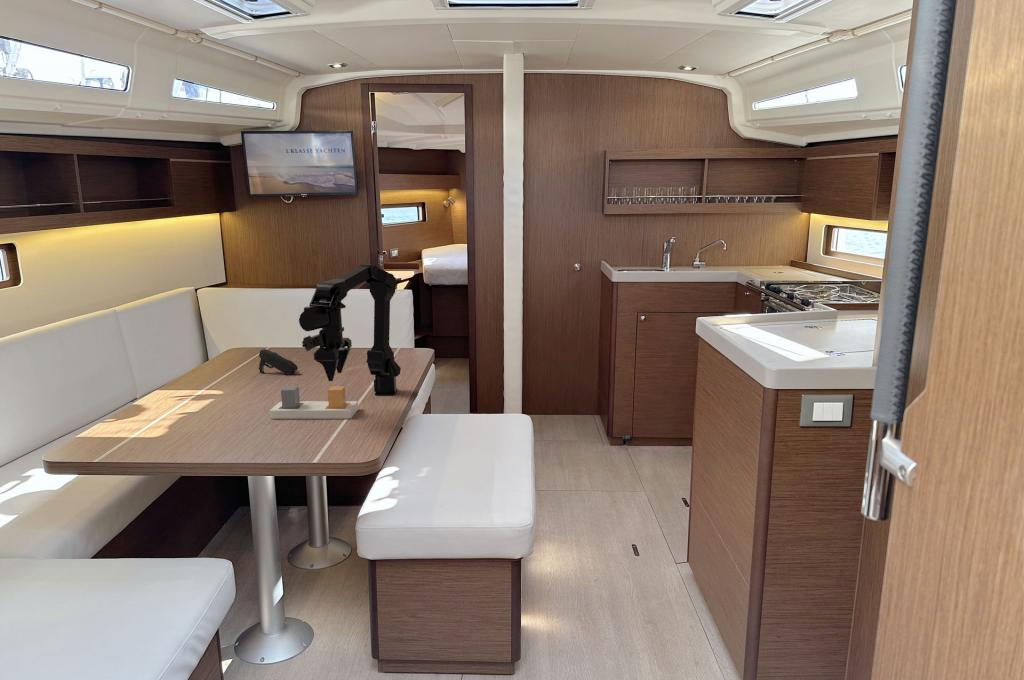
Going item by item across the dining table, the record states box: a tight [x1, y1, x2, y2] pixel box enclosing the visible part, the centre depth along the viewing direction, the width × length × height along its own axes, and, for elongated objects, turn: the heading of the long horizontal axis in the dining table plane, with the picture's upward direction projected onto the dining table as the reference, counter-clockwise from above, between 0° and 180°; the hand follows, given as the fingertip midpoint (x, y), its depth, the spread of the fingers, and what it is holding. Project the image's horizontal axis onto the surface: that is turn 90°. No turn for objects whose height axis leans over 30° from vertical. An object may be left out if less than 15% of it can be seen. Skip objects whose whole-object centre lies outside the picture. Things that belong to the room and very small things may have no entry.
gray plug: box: [280, 385, 301, 409], centre depth 206 cm, size 4×4×8 cm
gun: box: [258, 348, 300, 376], centre depth 253 cm, size 3×16×10 cm, turn 79°
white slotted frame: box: [268, 400, 359, 420], centre depth 207 cm, size 24×9×2 cm, turn 88°
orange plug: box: [327, 385, 347, 409], centre depth 206 cm, size 4×4×8 cm
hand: (335, 376), depth 204 cm, fingers open, 9 cm apart
